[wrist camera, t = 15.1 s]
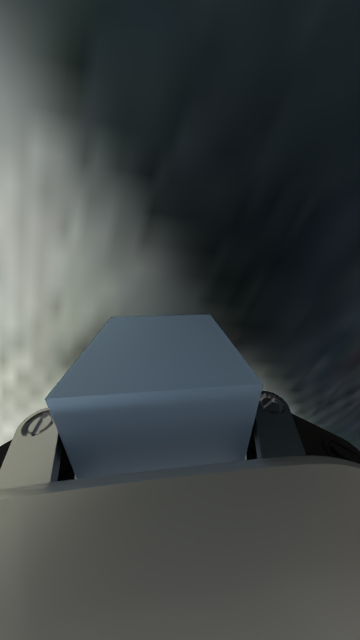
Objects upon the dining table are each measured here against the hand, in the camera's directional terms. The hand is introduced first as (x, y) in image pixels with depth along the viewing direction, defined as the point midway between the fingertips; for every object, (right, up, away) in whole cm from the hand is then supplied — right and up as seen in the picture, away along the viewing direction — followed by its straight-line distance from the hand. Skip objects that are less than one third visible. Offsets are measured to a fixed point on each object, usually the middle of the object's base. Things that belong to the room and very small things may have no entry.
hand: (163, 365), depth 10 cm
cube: (0, 0, +1) cm, 1 cm away
